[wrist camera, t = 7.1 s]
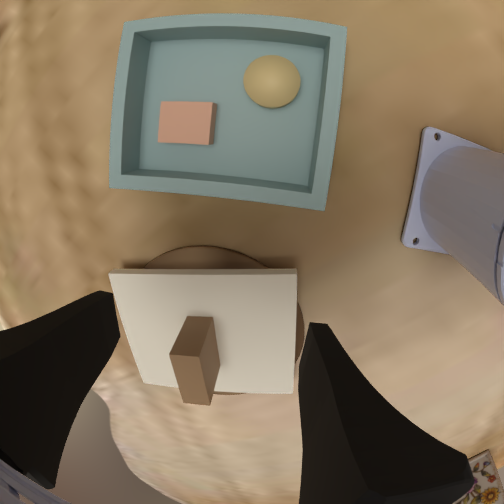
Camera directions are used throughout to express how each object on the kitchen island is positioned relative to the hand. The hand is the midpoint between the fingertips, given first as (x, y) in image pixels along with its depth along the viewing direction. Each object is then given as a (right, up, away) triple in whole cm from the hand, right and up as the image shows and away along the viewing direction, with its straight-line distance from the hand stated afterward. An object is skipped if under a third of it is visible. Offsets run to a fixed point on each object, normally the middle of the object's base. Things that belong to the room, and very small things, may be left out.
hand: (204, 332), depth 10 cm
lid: (-2, -3, +12) cm, 12 cm away
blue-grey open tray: (0, +11, +6) cm, 13 cm away
